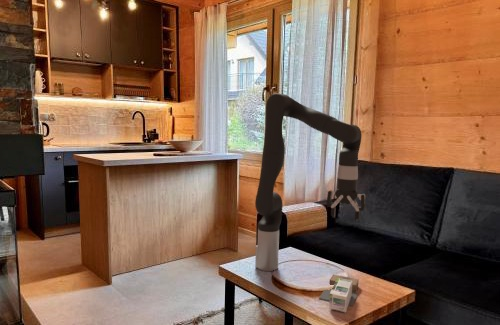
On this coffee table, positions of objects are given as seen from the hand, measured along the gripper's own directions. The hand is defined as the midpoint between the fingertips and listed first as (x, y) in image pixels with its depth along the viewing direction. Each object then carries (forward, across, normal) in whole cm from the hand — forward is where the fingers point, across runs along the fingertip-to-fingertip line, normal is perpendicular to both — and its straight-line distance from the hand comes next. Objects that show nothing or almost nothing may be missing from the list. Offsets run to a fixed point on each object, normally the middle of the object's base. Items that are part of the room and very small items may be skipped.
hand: (344, 218), depth 142 cm
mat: (+27, +1, -9) cm, 29 cm away
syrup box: (+24, +3, -7) cm, 25 cm away
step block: (+27, +1, 0) cm, 27 cm away
